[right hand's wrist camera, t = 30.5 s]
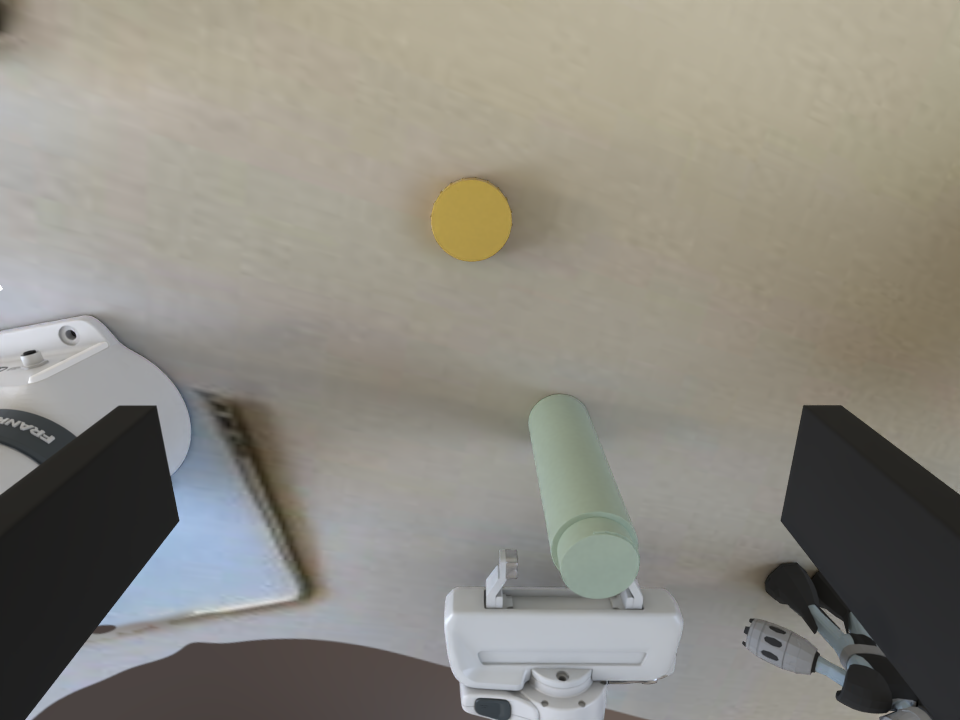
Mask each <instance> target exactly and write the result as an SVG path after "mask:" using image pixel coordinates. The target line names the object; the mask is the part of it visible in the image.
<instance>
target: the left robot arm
mask: <svg viewBox="0 0 960 720" xmlns="http://www.w3.org/2000/svg"><path fill="white" fill-rule="evenodd" d="M0 290H2V288H1V286H0ZM71 330H72V331H74V332H75V333H76V337H74V336H73V335H72V334H71ZM119 405H157V410H158V415H159V420H160V425H161V430H162V436H163V441H164V446H165V451H166V456H167V461H168V466H169V471H170V476H171V475H172V474H174V473H175V472H176V471H177V469H178V468H179V467H180V466H181V464H182V463H183V461H184V459H185V457H186V455H187V453H188V450H189V446H190V441H191V423H190V417H189V413H188V410H187V407H186V404H185V402H184V400H183V398H182V396H181V394H180V393H179V391H178V389H177V388H176V387H175V385H174V384H173V382H172V381H171V380H170V379H169V378H168V377H167V376H166V374H165V373H164V372H162V371H161V370H160V369H159V368H158V367H157V366H156V365H154V364H153V363H152V362H150V361H149V360H147V359H146V358H144V357H143V356H141V355H139V354H137V353H136V352H134V351H132V350H130V349H129V348H127V347H126V346H124V345H123V344H121V343H120V342H119V341H118V340H117V339H116V337H115V336H114V335H113V334H112V333H111V332H110V331H109V329H108V328H107V327H106V326H105V325H104V324H103V323H102V322H100V321H99V320H98V319H96V318H95V317H92V316H88V315H83V316H77V317H72V318H67V319H61V320H56V321H50V322H45V323H39V324H34V325H29V326H23V327H18V328H12V329H7V330H2V331H0V495H1V494H2V493H3V492H5V491H6V490H7V489H9V488H10V487H11V486H13V485H14V484H15V483H17V482H18V481H19V480H21V479H22V478H23V477H25V476H26V475H27V474H29V473H30V472H31V471H32V470H34V469H35V468H36V467H38V466H39V465H40V464H42V463H43V462H44V461H46V460H47V459H48V458H50V457H51V456H52V455H54V454H55V453H56V452H58V451H59V450H60V449H62V448H63V447H64V446H66V445H67V444H68V443H70V442H71V441H72V440H74V439H75V438H76V437H78V436H79V435H80V434H82V433H83V432H84V431H86V430H87V429H88V428H90V427H91V426H92V425H93V424H95V423H96V422H97V421H99V420H100V419H101V418H103V417H104V416H105V415H107V414H108V413H109V412H111V411H112V410H113V409H115V408H116V407H117V406H119ZM517 567H518V558H517V550H514V549H500V550H499V565H497V566H496V567H495V569H494V570H493V571H492V573H491V574H490V575H489V576H488V578H487V579H486V587H455V588H454V589H452V590H451V591H450V593H449V594H448V595H447V596H446V600H445V612H444V630H445V641H446V648H447V654H448V659H449V663H450V667H451V670H452V672H453V674H454V676H455V677H456V679H457V680H458V681H459V682H460V696H461V704H462V708H463V710H464V711H466V712H467V713H470V714H473V715H477V716H481V717H485V718H489V719H492V720H604V713H605V704H606V694H607V685H608V684H630V683H642V684H654V683H657V679H662V678H664V677H666V676H668V675H671V674H672V673H673V671H674V669H675V663H676V652H677V649H678V645H679V642H680V639H681V635H682V630H683V617H682V614H681V611H680V608H679V606H678V604H677V602H676V600H675V598H674V597H673V596H672V595H671V593H670V592H669V591H668V590H667V589H664V588H640V586H639V584H638V581H637V579H636V578H635V580H634V581H633V583H632V584H631V585H630V586H629V587H628V588H627V589H626V590H624V591H623V592H621V593H619V594H617V595H615V596H612V597H609V598H603V599H591V598H586V597H583V596H580V595H578V594H576V593H574V592H573V591H572V590H570V589H569V588H568V587H502V586H503V585H504V583H505V582H506V580H507V579H513V578H517Z"/></svg>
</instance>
